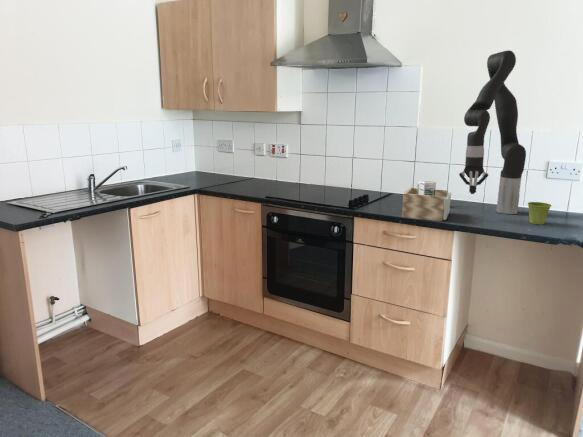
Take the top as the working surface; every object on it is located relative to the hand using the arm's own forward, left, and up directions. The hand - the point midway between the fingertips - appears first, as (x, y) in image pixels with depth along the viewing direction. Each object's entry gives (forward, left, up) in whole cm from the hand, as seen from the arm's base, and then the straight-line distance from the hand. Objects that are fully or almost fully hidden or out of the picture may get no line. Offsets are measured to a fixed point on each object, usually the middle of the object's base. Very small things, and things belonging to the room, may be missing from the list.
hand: (472, 193), depth 217 cm
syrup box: (+20, +3, -10) cm, 22 cm away
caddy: (+20, +3, -11) cm, 23 cm away
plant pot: (-28, -2, -12) cm, 30 cm away
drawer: (+19, +3, -11) cm, 22 cm away
